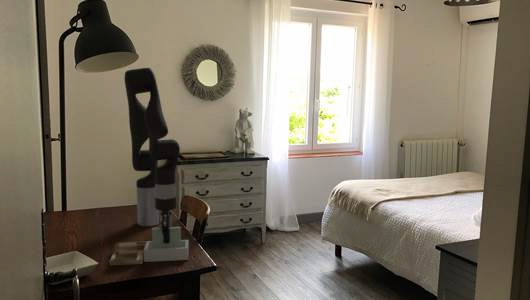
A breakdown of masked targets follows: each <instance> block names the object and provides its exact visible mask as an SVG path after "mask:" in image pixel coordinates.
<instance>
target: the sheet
mask: <svg viewBox="0 0 530 300" xmlns="http://www.w3.org/2000/svg"><path fill="white" fill-rule="evenodd" d="M164 230H167V229H164ZM181 230H182V227H181V226H171V227H170V243H163V233H162V227H152V228H151V237H152V238H151V239H152V240H151V241H152V245H153V249H159V248H181V240H182V234H181V233H182V231H181Z"/></svg>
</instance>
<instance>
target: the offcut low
mask: <svg viewBox="0 0 530 300" xmlns="http://www.w3.org/2000/svg"><path fill="white" fill-rule="evenodd" d="M137 257H138V249H137V253H127V254H119V250H117V251H116V253H115V261H125V260H137Z"/></svg>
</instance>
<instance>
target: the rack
mask: <svg viewBox="0 0 530 300" xmlns="http://www.w3.org/2000/svg"><path fill="white" fill-rule="evenodd" d="M136 242H137V249H138V257H137V260H125V261H115V253H116V251H117V250H119V244H124V243H136ZM146 242H147V241H129V242H128V241H124V242H116V243H115V245H114V246H113V248H114V251H113V253H112V255H111V258H110V259H109V261H108V263H109V266H125V265H127V266H128V265H131V266H132V265H142V264H143V263H144V248H145V245H146Z"/></svg>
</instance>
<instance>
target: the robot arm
mask: <svg viewBox="0 0 530 300" xmlns="http://www.w3.org/2000/svg"><path fill="white" fill-rule="evenodd" d="M124 86H125V91H126V98H127V104H128V117H129V118H128V123H129V132H130V137H131V138H130V139H131V161H132V162H131V163H132V168H133V170H134V171H136V172H149V174H147V175H145V176H144V177H140V178H138V179H137V180H136V204H137V205H136V207H137V208H136V209H137V225H138V226H139V227H154V226H157V225H159V223H160V228H162V233H163V243H170V227H172V217H173V212H171V211H173V210H175V209H177V204H178V203H177V186H176V169H177V165H178V160H179V155H180V154H181V153H180V151H181V150H180V149H181V148H180V144H179V142H178V141H177V140H175V139H172V138H171V139H163V138H166V137H167V135H169V134H168V133H169V129H168V128H169V127H168V125H167V123H166V119H165V117H164V112H163V110H162V109H163V108H162V104H161V98H160V93H159V89H158V83H157V80H156V76H155V73H154V71H153V69H152V68H150V67H142V68H133V69H128V70H126V71H125V72H124ZM145 93H149V95H150V96H149V101H148V103H147V106H145V105H143V104H142V103H141V101H140V100H139V99H138V97H137V95H139V94H145ZM148 140H149V141H148ZM147 141H148V143H149V144H148V149H142V147H143V146H144V144H145V143H146V142H147ZM159 161H165V162H164V164H162V165H159V166H158V164H159ZM160 211H161V212H160ZM159 213H160V214H159ZM164 229H167V230H164Z"/></svg>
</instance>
